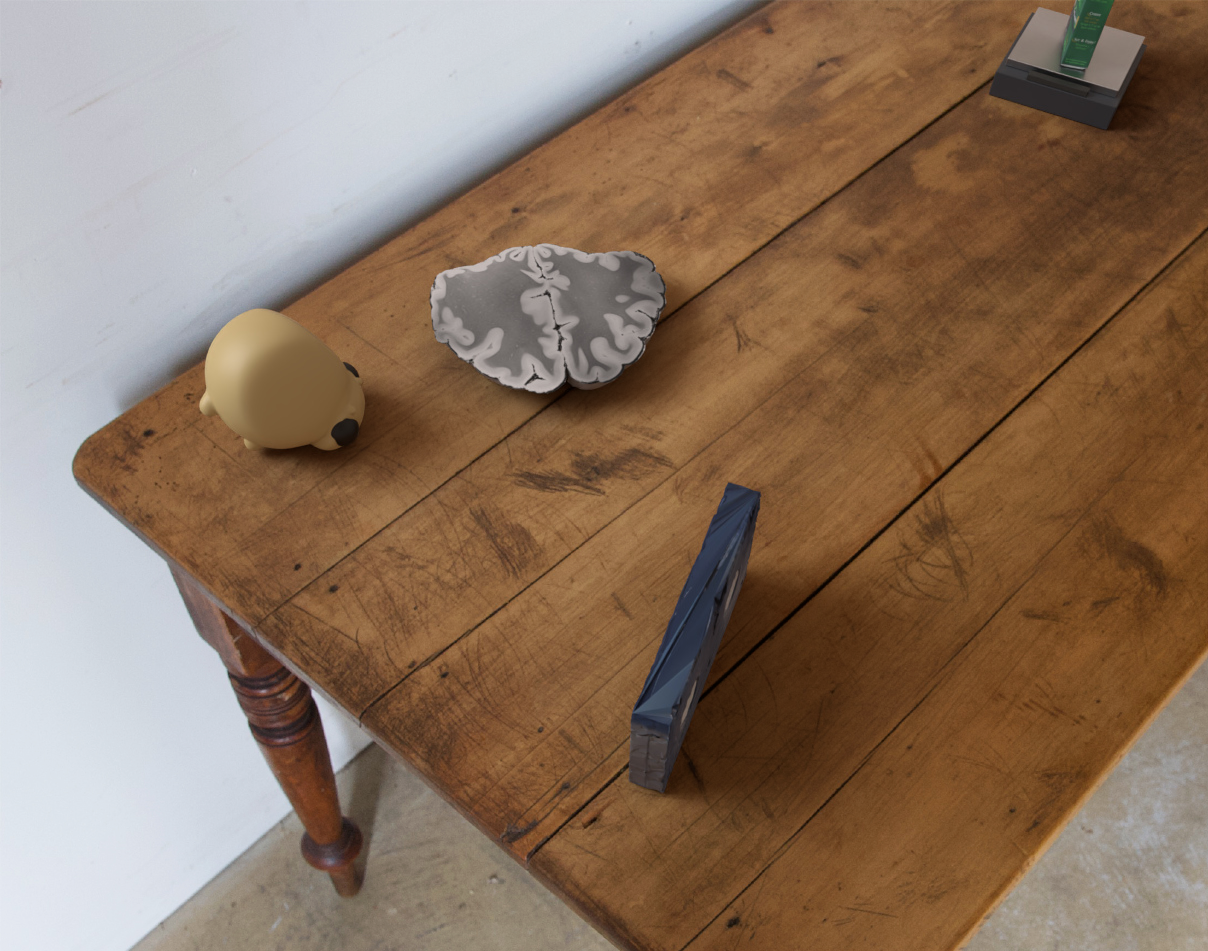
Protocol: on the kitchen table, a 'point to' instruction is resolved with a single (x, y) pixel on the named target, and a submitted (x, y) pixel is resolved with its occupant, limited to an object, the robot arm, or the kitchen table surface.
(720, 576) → the vhs cassette tape
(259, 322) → the toy pig
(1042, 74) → the scale
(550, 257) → the brain slice
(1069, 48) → the coffee box
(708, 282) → the kitchen table surface
